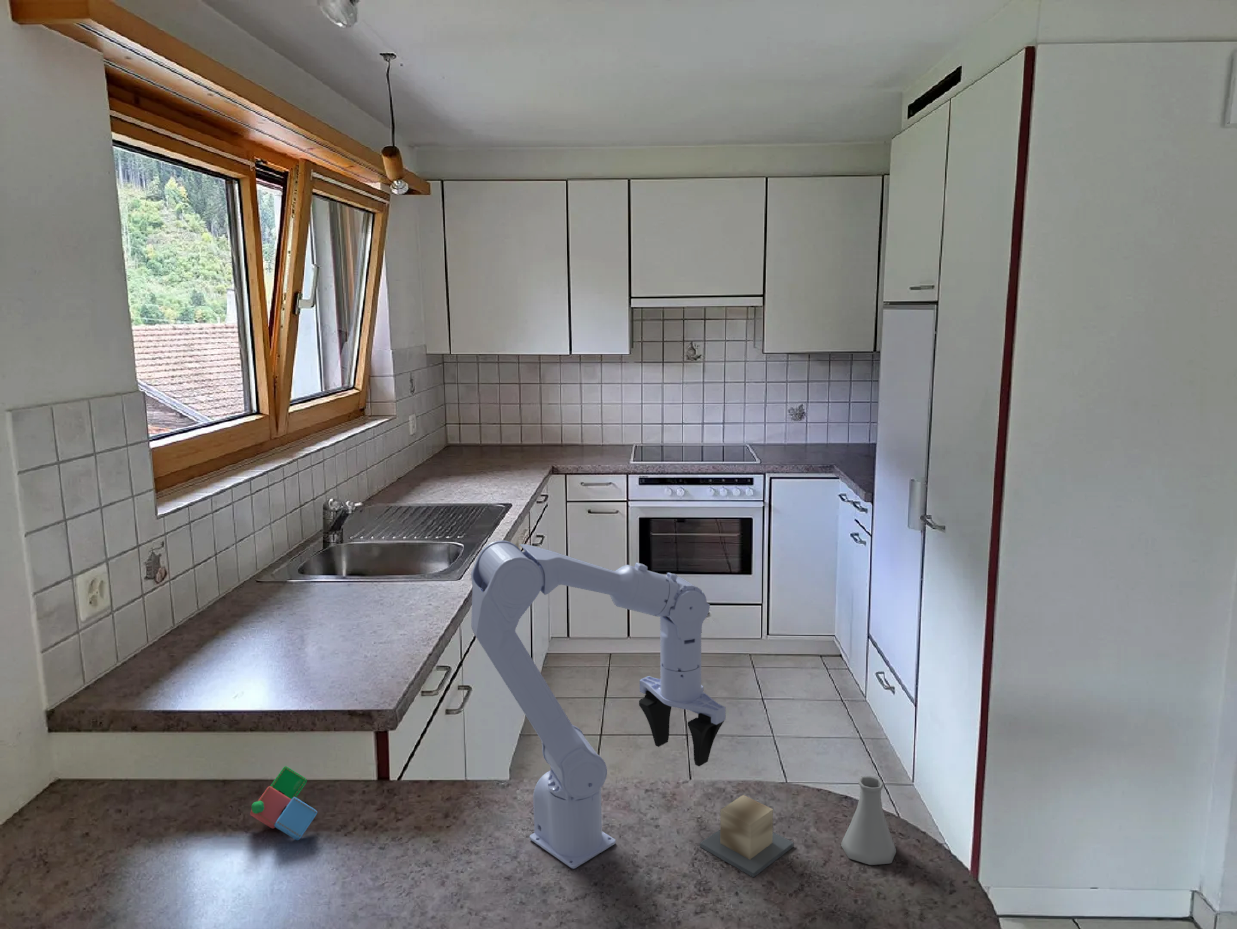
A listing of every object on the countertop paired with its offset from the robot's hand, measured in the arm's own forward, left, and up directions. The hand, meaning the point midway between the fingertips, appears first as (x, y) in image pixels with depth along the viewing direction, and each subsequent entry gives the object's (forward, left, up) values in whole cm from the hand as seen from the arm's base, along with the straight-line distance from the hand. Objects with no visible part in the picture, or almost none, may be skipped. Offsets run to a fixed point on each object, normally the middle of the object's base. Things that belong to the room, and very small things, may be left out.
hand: (681, 753), depth 119 cm
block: (+11, +1, -9) cm, 14 cm away
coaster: (+11, +1, -10) cm, 15 cm away
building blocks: (-39, -40, -10) cm, 57 cm away
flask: (+23, +12, -10) cm, 28 cm away
